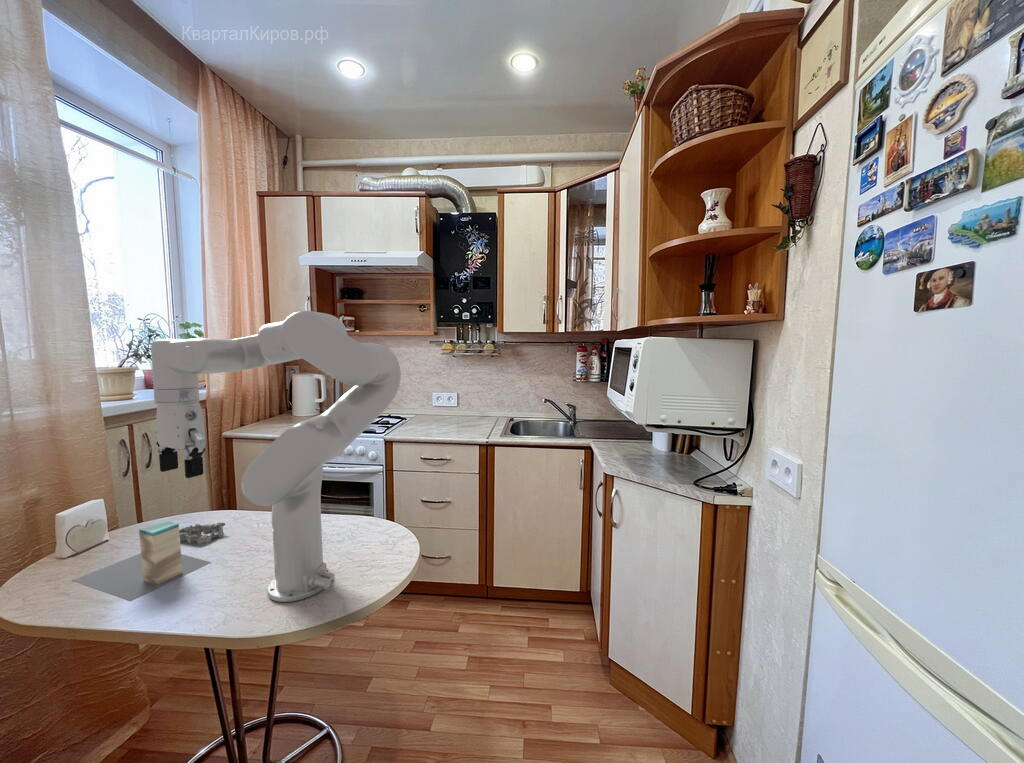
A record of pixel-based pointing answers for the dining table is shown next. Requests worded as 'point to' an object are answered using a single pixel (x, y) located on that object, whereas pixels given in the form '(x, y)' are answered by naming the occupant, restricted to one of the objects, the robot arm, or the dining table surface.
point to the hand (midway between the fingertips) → (181, 473)
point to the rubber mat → (132, 577)
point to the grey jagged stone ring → (196, 532)
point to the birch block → (160, 552)
